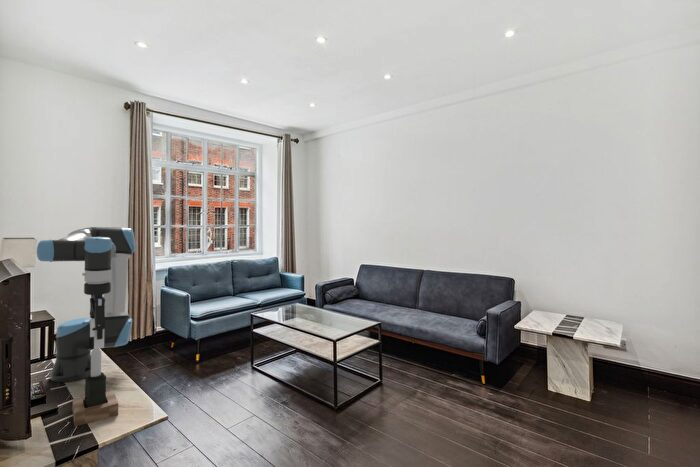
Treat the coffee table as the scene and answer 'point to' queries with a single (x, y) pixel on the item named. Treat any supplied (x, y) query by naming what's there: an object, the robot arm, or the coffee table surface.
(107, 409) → the block
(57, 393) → the coffee table surface
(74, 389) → the coffee table surface
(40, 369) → the coffee table surface
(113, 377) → the coffee table surface
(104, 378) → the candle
